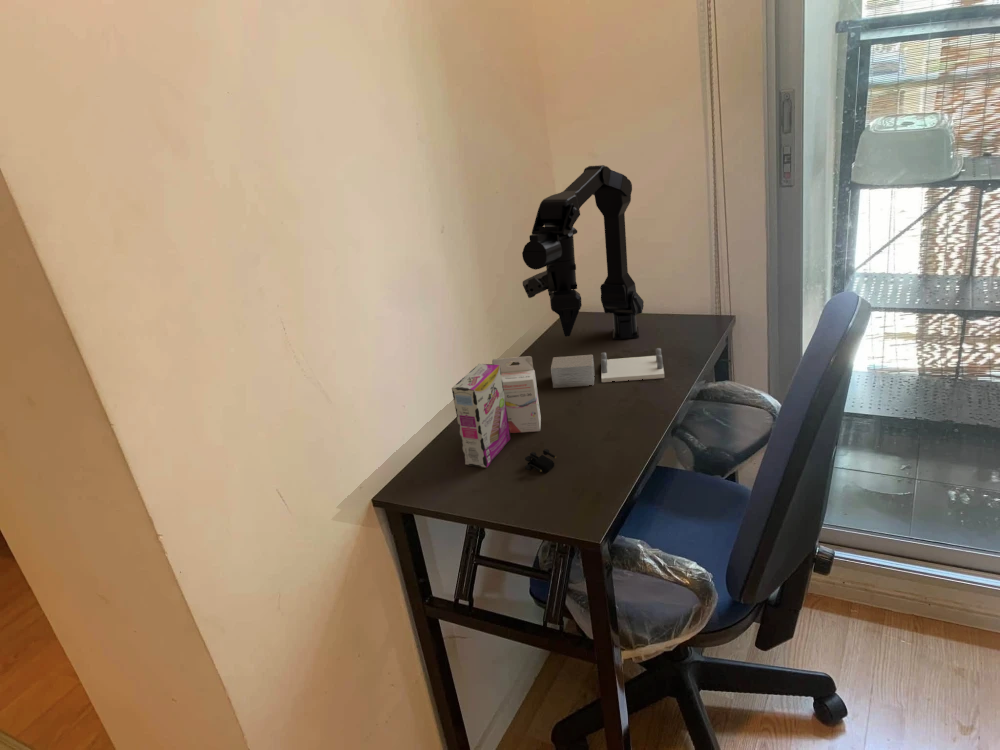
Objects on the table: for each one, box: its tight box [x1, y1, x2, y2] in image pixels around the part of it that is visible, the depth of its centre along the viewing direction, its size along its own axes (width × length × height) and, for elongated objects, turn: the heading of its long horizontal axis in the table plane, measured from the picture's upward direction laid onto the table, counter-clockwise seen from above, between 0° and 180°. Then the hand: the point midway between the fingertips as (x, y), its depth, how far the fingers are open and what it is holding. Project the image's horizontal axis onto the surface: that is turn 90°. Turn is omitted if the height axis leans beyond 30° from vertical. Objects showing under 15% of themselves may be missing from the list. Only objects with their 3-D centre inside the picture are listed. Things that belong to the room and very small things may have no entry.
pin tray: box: [600, 347, 665, 383], centre depth 156 cm, size 10×14×4 cm
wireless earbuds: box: [524, 448, 557, 474], centre depth 126 cm, size 7×2×5 cm
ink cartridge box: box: [491, 355, 542, 434], centre depth 138 cm, size 9×5×15 cm, turn 84°
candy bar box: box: [451, 363, 511, 469], centre depth 131 cm, size 11×5×16 cm, turn 155°
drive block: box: [550, 354, 596, 389], centre depth 156 cm, size 6×9×5 cm, turn 81°
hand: (565, 330), depth 152 cm, fingers open, 9 cm apart
